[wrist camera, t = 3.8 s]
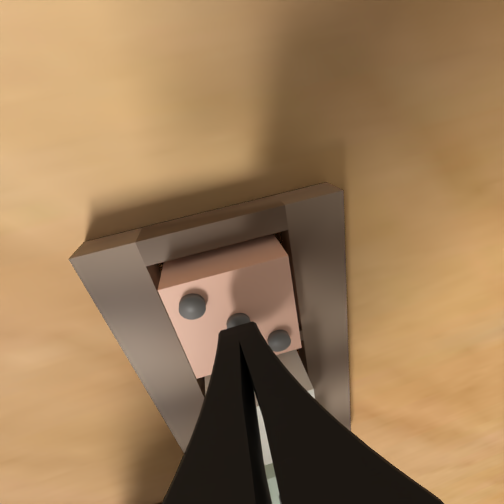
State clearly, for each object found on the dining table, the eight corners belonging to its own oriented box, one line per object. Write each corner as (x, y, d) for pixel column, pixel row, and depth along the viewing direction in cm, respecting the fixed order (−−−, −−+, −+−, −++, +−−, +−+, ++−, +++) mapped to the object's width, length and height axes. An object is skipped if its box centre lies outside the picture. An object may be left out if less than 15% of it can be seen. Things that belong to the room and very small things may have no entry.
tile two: (305, 405, 17) (323, 452, 14) (226, 430, 16) (232, 483, 14) (296, 349, 14) (316, 394, 12) (204, 376, 14) (206, 429, 12)
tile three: (286, 314, 15) (303, 352, 12) (196, 340, 14) (196, 384, 12) (272, 232, 12) (290, 259, 10) (164, 259, 12) (156, 295, 10)
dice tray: (341, 433, 22) (351, 454, 21) (211, 475, 21) (212, 501, 20) (326, 182, 12) (343, 190, 11) (84, 241, 11) (68, 259, 10)
